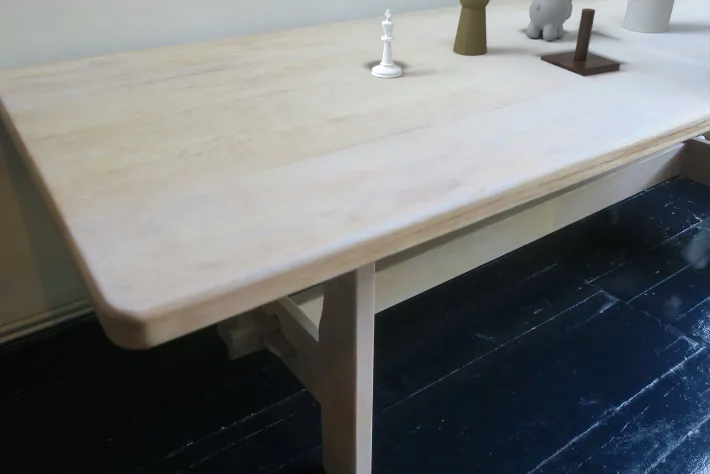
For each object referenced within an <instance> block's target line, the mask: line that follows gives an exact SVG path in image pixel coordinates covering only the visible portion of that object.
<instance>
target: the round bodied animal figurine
mask: <svg viewBox="0 0 710 474" xmlns="http://www.w3.org/2000/svg"><path fill="white" fill-rule="evenodd" d="M572 1H573V0H532V2H531V4H530V7H529V11H528V13H529V19H530V22H529V24H528V26H527V27H526V30H525V36H526V37H527V38H531V39H538V38H539V37H542V38H543V39H544V40H546V41H551V40H555V39H560V38H562V37H563V36H564V24H565V23H566V21H568V20H569V19H570V18H571V16H572V12H573V9H574V8H573V3H572Z"/></svg>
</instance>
